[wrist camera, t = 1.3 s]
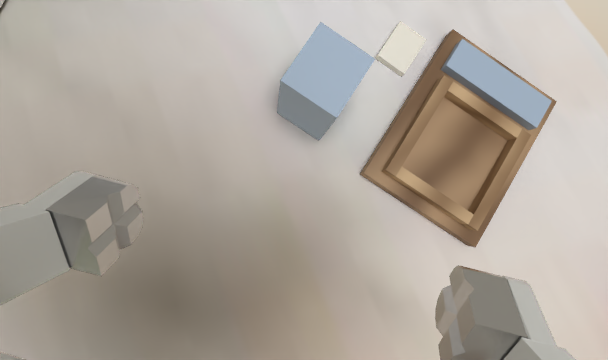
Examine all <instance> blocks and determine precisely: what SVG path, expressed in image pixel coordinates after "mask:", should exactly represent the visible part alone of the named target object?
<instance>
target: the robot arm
mask: <svg viewBox="0 0 608 360" xmlns="http://www.w3.org/2000/svg"><path fill="white" fill-rule="evenodd" d="M4 1H5V0H0V7H1V6H2V4H3V2H4ZM139 199H140V194H139V190H138V187H136V186H135V185H133V184H130V183H126V182H123V181H119V180H115V179H112V178H108V177H104V176H101V175H96V174H92V173H89V172H85V171H77V172H74V173H72V174H71V175H69V176H68V177H66V178H64V179H63V180H61V181H60V182H58V183H57V184H55V185H54V186H52V187H51V188H49V189H47V190H46V191H44V192H43V193H41V194H40V195H38V196H37V197H35V198H34V199H32V200H30V201H29V202H27V203H26V204H24V205H22V204H14V205H10V206H6V207H2V208H0V305H2V304H4V303H6V302H8V301H10V300H12V299H14V298H16V297H18V296H20V295H22V294H24V293H26V292H28V291H29V290H31V289H33V288H35V287H37V286H39V285H41V284H43V283H45V282H47V281H49V280H51V279H53V278H55V277H57V276H59V275H61V274H63V273H65V272H67V271H69V270H70V268H71V269H75V270H79V271H83V272H87V273H91V274H95V275H99V276H102V275H103V274H104V273H105V272H106V271H107V270H108V269H109V268H110V267H111V266H112V265H113V264H114V263H115V261H116V260H117V259H118V258H119V257H120V249H122V248H125V247H127V246H129V245H131V244H132V243H133V242H134V241H135V240H136V239H137V237H138V236H139V233H140V231H141V229H142V227H143V219H144V218H143V211H142V210H141V209H140V208H139V206H138V205H137V204H136V203H137V201H138V200H139ZM449 277H450V283H451V285H449V286H447V287H445V288H443V289H442V291H441V293H440V295H439V297H438V300H437V305H436V312H435V320H436V328H437V329H438V330H439V332H440V333H441V334H442V336H443V338H442V340H441V341H440V343H439V345H438V346H439V354H440V360H576V359H575V358H574V357H573V356H572V355H571V354H570V353H569V352H568V351H567V350H566V349H563V348H560V347H557V345H556V343H555V340H554V338H553V336H552V334H551V331H550V329H549V327H548V324H547V322H546V320H545V318H544V315H543V313H542V311H541V308H540V306H539V304H538V301H537V299H536V297H535V295H534V292H533V290H532V288H531V286H530V285H529V284H528V283H527V282H526V281H523V280H519V279H514V278H510V277H506V276H500V275H496V274H492V273H487V272H483V271H479V270H475V269H471V268H467V267H463V266H459V265H458V266H456V267H455V268H454V269H453V271H452V273H451V274H450V276H449ZM0 360H25V359H22V358H19V357H16V356H12V355H9V354H6V353H3V352H0Z"/></svg>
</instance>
